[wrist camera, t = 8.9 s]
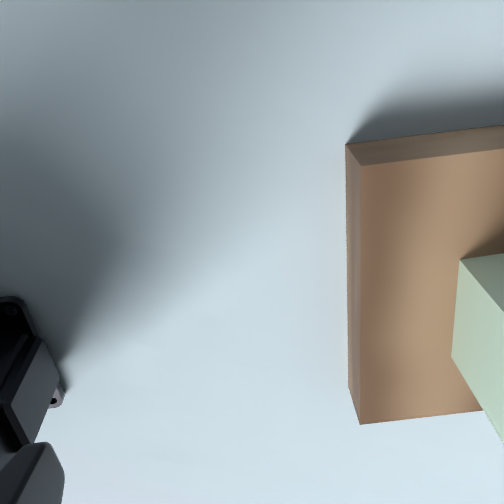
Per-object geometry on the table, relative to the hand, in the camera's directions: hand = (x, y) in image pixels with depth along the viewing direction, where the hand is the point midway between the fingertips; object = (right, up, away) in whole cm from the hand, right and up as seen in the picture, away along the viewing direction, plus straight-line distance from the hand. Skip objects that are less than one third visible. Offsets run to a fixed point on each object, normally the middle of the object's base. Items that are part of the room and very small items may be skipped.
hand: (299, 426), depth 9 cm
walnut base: (+10, +3, +14) cm, 17 cm away
